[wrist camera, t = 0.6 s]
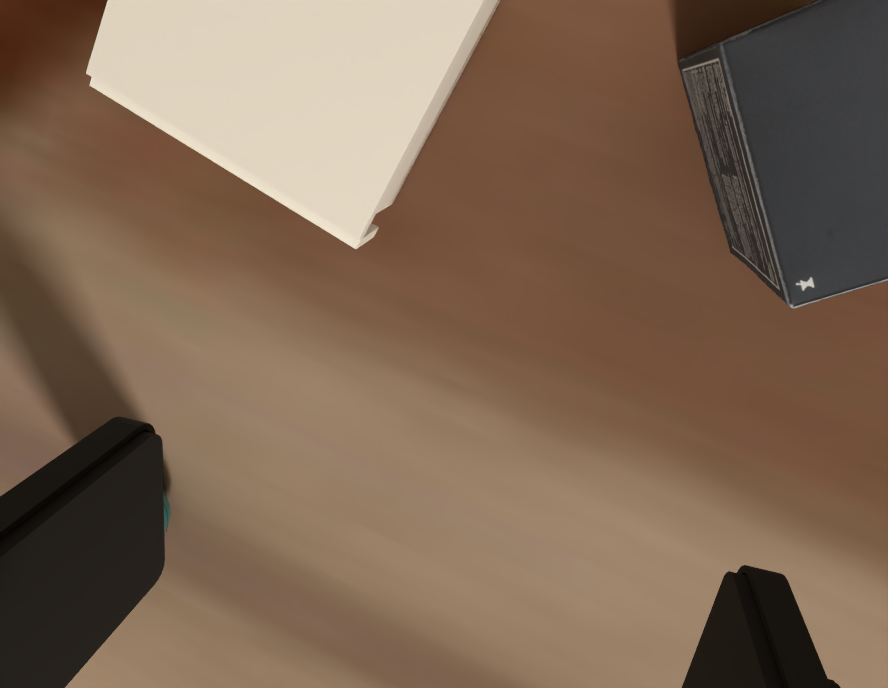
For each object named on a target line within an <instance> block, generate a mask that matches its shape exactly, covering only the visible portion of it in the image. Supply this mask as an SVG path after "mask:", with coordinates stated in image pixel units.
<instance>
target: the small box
mask: <svg viewBox="0 0 888 688" xmlns="http://www.w3.org/2000/svg"><path fill="white" fill-rule="evenodd" d="M678 66H679V69H680V72H681V76H682V80H683V84H684V88H685V91H686V95H687V98H688V102H689V105H690V109H691V112H692V116H693V120H694V124H695V130H696V132H697V134H698V138H699V141H700V146H701V149H702V152H703V156H704V159H705V163H706V167H707V170H708V174H709V181H710V183H711V186H712V189H713V193H714V196H715V199H716V203H717V207H718V210H719V214H720V217H721V221H722V224H723V227H724V231H725V234H726V237H727V240H728V244H729V247H730V252H731V253H732V254H733V255H734V256H736V257H737V258H738V259H740V260H741V261H742V262H743V263H744V264H746V265H747V267H749V268H750V269H751V270H752V271H753V272H754V273H755V274H757V276H758V277H759V278H760V279H761V280H762V281H763V282H764V283H766V285H767V286H768V287H769V288H771V289H772V290H773V291H774V292H775V293H776V294H777V295H778V296H779V297H780V298H781V299H782V300H784V302H785V303H786V304H787V305H788V306H790V307H792V308H798V307H801V306H804V305H807V304H810V303H814V302H817V301H820V300H823V299H827V298H830V297H834V296H837V295H840V294H844V293H847V292H851V291H854V290H857V289H860V288H863V287H867V286H870V285H873V284H877V283H881V282H885V281H887V280H888V0H816V1H814V2H811V3H809V4H807V5H804V6H802V7H799V8H797V9H795V10H793V11H791V12H789V13H786V14H784V15H782V16H780V17H777V18H775V19H773V20H770V21H768V22H766V23H763V24H761V25H758V26H756V27H754V28H751V29H749V30H747V31H744V32H742V33H739V34H737V35H734V36H732V37H730V38H727V39H725V40H723V41H720V42H717V43H715V44H713V45H710V46H707V47H705V48H703V49H700V50H698V51H695V52H693V53H691V54H688V55H685V56H683V57H682V58H681V59H680V60H679V62H678Z"/></svg>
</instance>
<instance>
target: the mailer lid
mask: <svg viewBox="0 0 888 688" xmlns="http://www.w3.org/2000/svg"><path fill="white" fill-rule="evenodd" d="M487 1H488V0H108V1H107V5H106V8H105V11H104V15H103V18H102V21H101V25H100V28H99V31H98V35H97V38H96V41H95V45H94V48H93V51H92V55H91V58H90V61H89V65H88V68H87V71H86V74H88V75H89V76H91V77H92V78H91V82H90V86H91V87H93V88H95V89H96V90H98V91H100V92H101V93H103V94H104V95H106V96H108V97H109V98H111V99H113V100H114V101H116V102H117V103H119V104H121V105H122V106H124V107H126V108H127V109H129V110H130V111H132V112H134V113H135V114H137V115H139V116H140V117H142V118H143V119H145V120H147V121H148V122H150V123H152V124H153V125H155V126H156V127H158V128H160V129H161V130H163V131H165V132H166V133H168V134H169V135H171V136H173V137H174V138H176V139H178V140H179V141H181V142H182V143H184V144H186V145H187V146H189V147H191V148H192V149H194V150H195V151H197V152H199V153H200V154H202V155H204V156H205V157H207V158H208V159H210V160H212V161H213V162H215V163H217V164H218V165H220V166H221V167H223V168H225V169H226V170H228V171H230V172H231V173H233V174H234V175H236V176H238V177H239V178H241V179H243V180H244V181H246V182H247V183H249V184H251V185H252V186H254V187H256V188H257V189H259V190H260V191H262V192H264V193H265V194H267V195H269V196H270V197H272V198H273V199H275V200H277V201H278V202H280V203H282V204H283V205H285V206H286V207H288V208H290V209H291V210H293V211H295V212H296V213H298V214H299V215H301V216H303V217H304V218H306V219H308V220H309V221H311V222H312V223H314V224H316V225H317V226H319V227H321V228H322V229H324V230H325V231H327V232H329V233H330V234H332V235H334V236H335V237H337V238H338V239H340V240H342V241H343V242H345V243H346V244H348V245H350V246H351V247H353V248H355V249H357V248H359V247H360V246H361V245H363V244H364V243H366V242H367V241H369V240H370V239H372V238H373V237H374V235H375V234H376V232H377V230H378V228H379V227H377V226H375V225H374V224H372V223H371V222H372V220H373V218H374V216H375V214H376V212H377V211H378V209H379V207H380V205H381V203H382V201H383V199H384V197H385V195H386V193H387V191H388V190H389V188H390V186H391V184H392V182H393V180H394V178H395V176H396V174H397V172H398V170H399V169H400V167H401V165H402V163H403V161H404V159H405V157H406V155H407V153H408V151H409V149H410V148H411V146H412V144H413V142H414V140H415V138H416V136H417V134H418V132H419V130H420V129H421V127H422V125H423V123H424V121H425V119H426V117H427V115H428V113H429V111H430V109H431V108H432V106H433V104H434V102H435V100H436V98H437V96H438V94H439V92H440V90H441V88H442V87H443V85H444V83H445V81H446V79H447V77H448V75H449V73H450V71H451V69H452V67H453V66H454V64H455V62H456V60H457V58H458V56H459V54H460V52H461V50H462V48H463V47H464V45H465V43H466V41H467V39H468V37H469V35H470V33H471V31H472V29H473V27H474V26H475V24H476V22H477V20H478V18H479V16H480V14H481V12H482V10H483V8H484V6H485V5H486V3H487Z"/></svg>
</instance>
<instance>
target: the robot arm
mask: <svg viewBox="0 0 888 688" xmlns="http://www.w3.org/2000/svg"><path fill="white" fill-rule="evenodd" d="M164 561H165V548H164V498H163V447H162V439H161V437H160V436H159V435H157V434H155V430H154V428H153V426H152V425H150V424H148V423H144V422H140V421H136V420H132V419H127V418H123V417H115V418H113V419H111V420H110V421H108V422H107V423H105V424H104V425H102V426H101V427H100V428H98V429H97V430H95V431H94V432H92V433H91V434H90V435H88V436H87V437H85V438H84V439H82V440H81V441H79V442H78V443H77V444H75V445H74V446H72V447H71V448H69V449H68V450H67V451H65V452H64V453H62V454H61V455H59V456H58V457H57V458H55V459H54V460H52V461H51V462H49V463H48V464H46V465H45V466H44V467H42V468H41V469H39V470H38V471H36V472H35V473H34V474H32V475H31V476H29V477H28V478H26V479H25V480H24V481H22V482H21V483H19V484H18V485H16V486H15V487H13V488H12V489H11V490H9V491H8V492H6V493H5V494H3V495H2V496H1V497H0V688H65V687H66V685H67V684H68V683H69V682H70V681H71V680H72V679H73V677H74V676H75V675H76V674H77V673H78V672H79V671H80V669H81V668H82V667H83V666H84V665H85V664H86V663H87V661H88V660H89V659H90V658H91V657H92V656H93V654H94V653H95V652H96V651H97V650H98V649H99V648H100V646H101V645H102V644H103V643H104V642H105V641H106V640H107V638H108V637H109V636H110V635H111V634H112V633H113V632H114V630H115V629H116V628H117V627H118V626H119V625H120V623H121V622H122V621H123V620H124V619H125V618H126V617H127V615H128V614H129V613H130V612H131V611H132V610H133V609H134V607H135V606H136V605H137V604H138V603H139V602H140V600H141V599H142V598H143V597H144V596H145V595H146V594H147V592H148V591H149V590H150V589H151V588H152V587H153V586H154V584H155V583H156V582H157V580H158V579H159V577H160V575H161V573H162V570H163V567H164ZM682 688H840V686H839V685H838V684H837V683H835V682H834V681H833V680H830V679H827V676H826V674H825V671H824V669H823V666H822V664H821V661H820V659H819V656H818V654H817V652H816V649H815V647H814V644H813V642H812V639H811V637H810V634H809V632H808V629H807V627H806V625H805V622H804V620H803V617H802V615H801V612H800V610H799V607H798V605H797V602H796V600H795V598H794V595H793V593H792V590H791V588H790V585H789V583H788V580H787V579H786V577H785V576H784V575H782V574H780V573H776V572H772V571H767V570H763V569H759V568H755V567H750V566H746V565H744V566H741V568H740V569H739V570H738V572H737V573H734V572H730V571H729V572H727V573H726V574H725V576H724V578H723V580H722V583H721V585H720V588H719V591H718V593H717V596H716V599H715V601H714V604H713V607H712V609H711V612H710V614H709V617H708V620H707V622H706V625H705V628H704V630H703V633H702V636H701V638H700V641H699V644H698V646H697V649H696V652H695V654H694V657H693V659H692V662H691V665H690V667H689V670H688V673H687V675H686V678H685V681H684V683H683V686H682Z"/></svg>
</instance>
